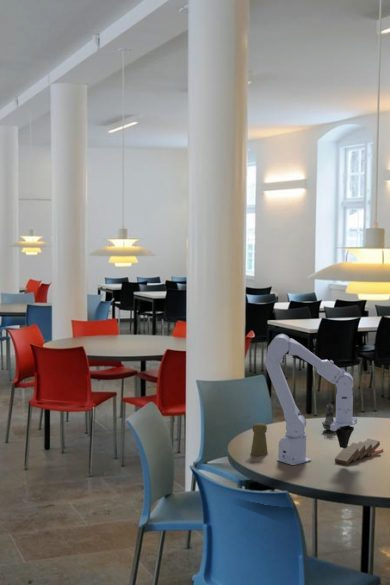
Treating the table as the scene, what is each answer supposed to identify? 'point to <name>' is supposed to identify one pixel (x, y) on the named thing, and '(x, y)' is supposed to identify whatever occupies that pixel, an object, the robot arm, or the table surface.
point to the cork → (259, 440)
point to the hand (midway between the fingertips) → (343, 447)
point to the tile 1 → (346, 455)
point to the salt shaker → (328, 419)
